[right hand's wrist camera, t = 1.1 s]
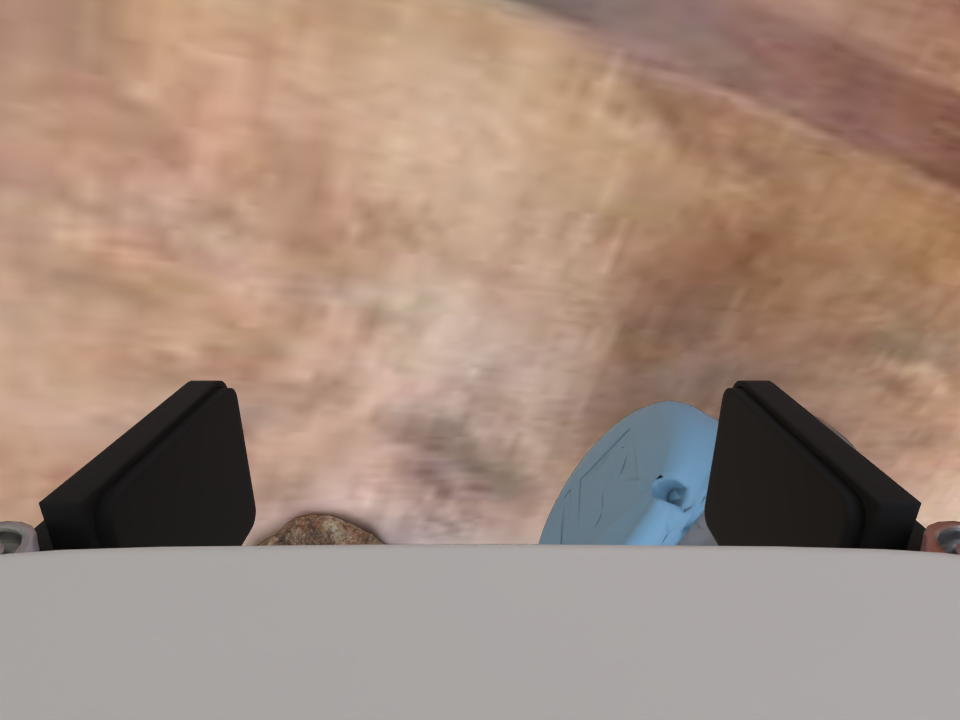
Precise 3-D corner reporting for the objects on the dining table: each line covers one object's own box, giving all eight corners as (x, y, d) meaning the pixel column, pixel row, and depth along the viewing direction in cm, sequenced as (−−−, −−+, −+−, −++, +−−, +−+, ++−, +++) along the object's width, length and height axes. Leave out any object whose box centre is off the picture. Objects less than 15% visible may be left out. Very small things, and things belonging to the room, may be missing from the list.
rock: (381, 623, 52) (431, 544, 49) (370, 714, 44) (430, 627, 41) (224, 569, 48) (268, 481, 45) (183, 658, 40) (232, 559, 37)
